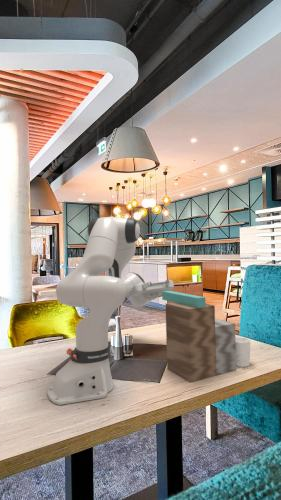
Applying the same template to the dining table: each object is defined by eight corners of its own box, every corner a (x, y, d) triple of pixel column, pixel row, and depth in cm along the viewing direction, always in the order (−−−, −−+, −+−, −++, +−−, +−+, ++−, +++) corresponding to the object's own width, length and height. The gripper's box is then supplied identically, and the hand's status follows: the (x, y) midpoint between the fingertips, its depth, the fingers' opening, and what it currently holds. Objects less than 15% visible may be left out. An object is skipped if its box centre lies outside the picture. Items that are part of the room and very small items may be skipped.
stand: (190, 382, 115) (188, 309, 115) (167, 369, 128) (165, 303, 128) (236, 369, 125) (234, 302, 125) (210, 358, 138) (208, 298, 138)
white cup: (252, 368, 126) (251, 342, 126) (231, 367, 128) (230, 342, 128) (249, 361, 134) (249, 337, 134) (230, 360, 136) (229, 336, 136)
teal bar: (198, 307, 117) (197, 298, 117) (162, 299, 138) (162, 291, 138) (205, 306, 118) (205, 297, 118) (169, 298, 139) (168, 290, 139)
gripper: (126, 288, 154) (136, 278, 142) (164, 283, 162) (176, 273, 151) (129, 300, 152) (140, 291, 140) (167, 295, 160) (180, 286, 148)
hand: (159, 282), depth 145 cm, fingers open, 8 cm apart
